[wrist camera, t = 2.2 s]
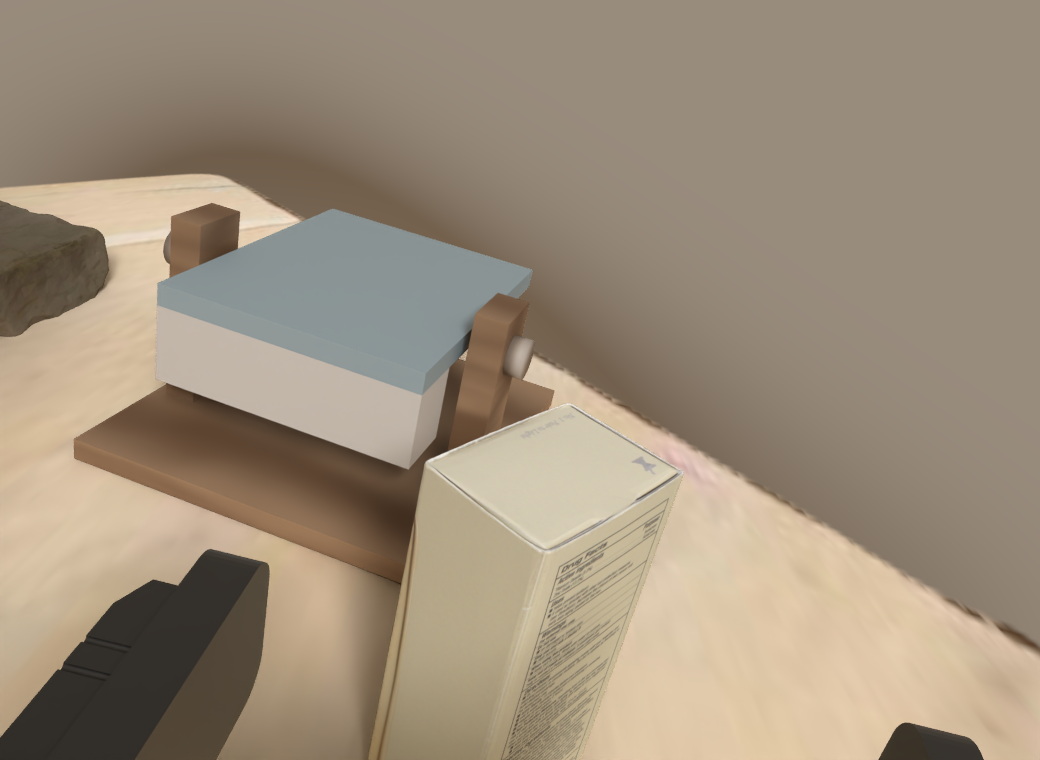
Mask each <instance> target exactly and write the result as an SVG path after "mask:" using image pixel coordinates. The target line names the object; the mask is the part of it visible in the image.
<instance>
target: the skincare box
mask: <svg viewBox="0 0 1040 760" xmlns="http://www.w3.org/2000/svg"><path fill="white" fill-rule="evenodd" d="M683 475H684V472H683V471H682V470H681V469H679V468H677V467H675V466H673V465H672V464H669V463H668V462H667V461H665V460H664V459H662V458H660V457H659V456H657V455H656V454H654V453H652V452H650V451H649V450H647V449H646V448H644V447H642V446H640V445H639V444H637V443H636V442H634V441H632V440H631V439H629V438H628V437H626V436H624V435H623V434H621V433H619V432H618V431H616V430H614V429H613V428H611V427H610V426H608V425H606V424H605V423H603V422H601V421H599V420H598V419H596V418H594V417H593V416H591V415H590V414H588V413H586V412H585V411H583V410H581V409H580V408H578V407H577V406H575V405H573V404H570V403H566V404H563V405H561V406H558V407H555V408H552V409H550V410H547V411H544V412H541V413H539V414H537V415H534V416H532V417H529V418H526V419H524V420H522V421H519V422H516V423H514V424H512V425H509V426H506V427H504V428H502V429H500V430H498V431H495V432H492V433H489V434H488V435H485V436H483V437H480V438H478V439H476V440H473V441H471V442H468V443H466V444H464V445H462V446H459V447H457V448H454V449H452V450H450V451H448V452H445V453H443V454H441V455H438V456H436V457H434V458H431V459H429V460H427V461H426V462H425V464H424V470H423V475H422V480H421V485H420V490H419V495H418V501H417V507H416V512H415V517H414V522H413V527H412V532H411V538H410V543H409V548H408V552H407V558H406V564H405V569H404V574H403V579H402V584H401V590H400V594H399V600H398V605H397V610H396V616H395V621H394V625H393V631H392V636H391V641H390V646H389V650H388V657H387V661H386V667H385V672H384V678H383V683H382V688H381V693H380V698H379V703H378V708H377V713H376V719H375V724H374V729H373V734H372V739H371V744H370V750H369V755H368V760H580V759H581V757H582V754H583V752H584V749H585V746H586V743H587V740H588V738H589V735H590V732H591V729H592V726H593V724H594V721H595V718H596V715H597V713H598V710H599V707H600V704H601V701H602V699H603V696H604V693H605V690H606V688H607V685H608V682H609V680H610V677H611V674H612V672H613V669H614V666H615V663H616V661H617V658H618V655H619V652H620V649H621V646H622V644H623V641H624V638H625V635H626V632H627V630H628V627H629V624H630V621H631V618H632V616H633V613H634V611H635V608H636V605H637V602H638V599H639V597H640V594H641V591H642V588H643V586H644V583H645V580H646V577H647V575H648V572H649V569H650V566H651V563H652V561H653V558H654V555H655V552H656V549H657V546H658V544H659V541H660V538H661V535H662V533H663V530H664V527H665V524H666V522H667V519H668V517H669V514H670V511H671V508H672V506H673V503H674V500H675V497H676V494H677V491H678V489H679V486H680V483H681V480H682V478H683Z"/></svg>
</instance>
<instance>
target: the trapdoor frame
mask: <svg viewBox="0 0 1040 760" xmlns="http://www.w3.org/2000/svg"><path fill="white" fill-rule="evenodd" d="M239 221H240V212H239V211H236V210H233V209H230V208H226V207H223V206H220V205H217V204H214V203H211V204H208V205H205V206H202V207H199V208H196V209H193V210H190V211H186V212H183V213H180V214H177V215H174V216H171V232H170V233H169V235H168V236H167V238H166V240H165V244H164V250H163V253H164V258H165V260H166V262H167V263H169V264H170V278H171V277H173V276H175V275H178V274H180V273H182V272H185V271H187V270H189V269H192V268H194V267H196V266H199V265H201V264H204V263H206V262H208V261H211V260H213V259H215V258H218V257H220V256H222V255H225V254H227V253H229V252H232V251H234V250H237V249H238V236H239ZM528 307H529V302H526V301H523V300H520V299H517V298H513V297H510V296H507V295H504V294H501V293H497V294H496V295H495V296H494V297H493V298H492V299H490V300H489V301H488V302H487V303H486V304H485V305H484V306H483V307H482V308H481V309H480V310H479V311H478V312H476V313H475V318H474V323H473V327H472V332H471V337H470V342H469V347H468V352H467V357H466V361H463V360H460V359H457V360H456V361H455V362H454V363H453V364H452V365H451V366H450V367H449V372H448V378H447V383H446V388H445V393H444V398H443V403H442V409H441V414H440V419H439V424H438V429H437V434H436V438H435V439H434V440H433V441H432V443H431V444H430V445H429V446H428V447H427V448H426V450H425V451H424V452H423V453H422V454H421V456H420V457H419V458H418V459H417V460H416V461H415V463H414V464H413V465H412V466H411V467H410V468H409V470H408V469H405V468H403V467H400V466H397V465H394V464H392V463H389V462H386V461H383V460H380V459H378V458H375V457H372V456H369V455H366V454H364V453H361V452H358V451H355V450H352V449H350V448H347V447H344V446H341V445H339V444H336V443H333V442H330V441H327V440H325V439H322V438H319V437H316V436H313V435H311V434H308V433H305V432H302V431H299V430H297V429H294V428H291V427H288V426H286V425H283V424H280V423H277V422H274V421H272V420H269V419H266V418H263V417H260V416H258V415H255V414H252V413H249V412H246V411H244V410H241V409H238V408H235V407H233V406H230V405H227V404H224V403H221V402H219V401H216V400H213V399H210V398H207V397H205V396H202V395H199V394H196V393H193V392H191V391H188V390H185V389H182V388H180V387H177V386H174V385H171V384H168V383H166V385H164V386H163V387H161V388H159V389H158V390H156V391H154V392H153V393H151V394H149V395H147V396H146V397H144V398H142V399H141V400H139V401H137V402H136V403H134V404H132V405H130V406H129V407H127V408H125V409H124V410H122V411H120V412H119V413H117V414H115V415H114V416H112V417H110V418H108V419H107V420H105V421H103V422H102V423H100V424H98V425H97V426H95V427H93V428H92V429H90V430H88V431H86V432H85V433H83V434H81V435H80V436H78V437H76V438H75V439H74V458H75V459H78V460H80V461H83V462H86V463H88V464H91V465H93V466H96V467H99V468H101V469H104V470H106V471H109V472H112V473H114V474H117V475H119V476H122V477H125V478H127V479H130V480H132V481H135V482H138V483H140V484H143V485H145V486H148V487H151V488H153V489H156V490H158V491H161V492H164V493H166V494H169V495H171V496H174V497H177V498H179V499H182V500H184V501H187V502H190V503H192V504H195V505H197V506H200V507H203V508H205V509H208V510H211V511H213V512H216V513H218V514H221V515H224V516H226V517H229V518H231V519H234V520H237V521H239V522H242V523H244V524H247V525H250V526H252V527H255V528H257V529H260V530H263V531H265V532H268V533H270V534H273V535H276V536H278V537H281V538H283V539H286V540H289V541H291V542H294V543H296V544H299V545H302V546H304V547H307V548H309V549H312V550H315V551H317V552H320V553H322V554H325V555H328V556H330V557H333V558H335V559H338V560H341V561H343V562H346V563H349V564H351V565H354V566H356V567H359V568H362V569H364V570H367V571H369V572H372V573H375V574H377V575H380V576H382V577H385V578H388V579H390V580H393V581H395V582H398V583H401V584H402V579H403V574H404V569H405V564H406V558H407V552H408V548H409V543H410V538H411V532H412V527H413V522H414V517H415V512H416V507H417V501H418V495H419V490H420V485H421V480H422V475H423V470H424V464H425V462H426V461H427V460H429V459H431V458H434V457H436V456H438V455H441V454H443V453H445V452H448V451H450V450H452V449H454V448H457V447H459V446H462V445H464V444H466V443H468V442H471V441H473V440H476V439H478V438H480V437H483V436H485V435H488V434H489V433H492V432H495V431H498V430H500V429H502V428H504V427H506V426H509V425H512V424H514V423H516V422H519V421H522V420H524V419H526V418H529V417H532V416H534V415H537V414H539V413H541V412H544V411H547V410H548V409H549V407H550V406H551V402H552V398H553V395H554V390H551V389H548V388H545V387H542V386H539V385H536V384H533V383H530V382H527V381H524V380H522V379H523V378H524V376H525V375H526V372H527V370H528V368H529V365H530V362H531V359H532V356H533V352H534V346H535V342H534V341H533V340H530V339H527V338H524V337H522V333H523V328H524V324H525V320H526V316H527V311H528Z"/></svg>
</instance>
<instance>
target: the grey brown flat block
mask: <svg viewBox="0 0 1040 760" xmlns="http://www.w3.org/2000/svg"><path fill="white" fill-rule="evenodd" d="M108 271H109V267H108V255H107V251H106V246H105V239H104V236H103V235H102V233H100V232H99V231H98V230H97V229H94V228H90V227H85V226H77V225H72V224H70V223H68V222H66V221H64V220H62V219H60V218H57V217H55V216H53V215H49V214H37V213H32V212H29V211H28V210H26V209H23V208H19V207H16V206H13V205H10V204H9V203H6V202H3V201H0V336H5V337H12V336H18V335H20V334H22V333H23V332H24V331H25V330H26V329H27V328H28V327H30V326H31V325H32V324H35V323H37V322H39V321H42V320H45V319H51V318H54V317H58V316H60V315H61V314H63V313H64V312H67V311H69V310H71V309H73V308H75V307H77V306H79V305H81V304H83V303H85V302H87V301H88V300H90V299H92V298H94V297H95V296H96V294H97V291H98V289H99V288H100V287H102V286H103V285H104V281H105V278H106V275H107V273H108Z"/></svg>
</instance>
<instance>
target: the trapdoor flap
mask: <svg viewBox="0 0 1040 760" xmlns="http://www.w3.org/2000/svg"><path fill="white" fill-rule="evenodd" d="M531 275H532V270H531V269H528V268H525V267H522V266H518V265H515V264H512V263H509V262H505V261H502V260H499V259H495V258H492V257H489V256H486V255H482V254H479V253H476V252H473V251H469V250H466V249H463V248H459V247H456V246H453V245H450V244H447V243H443V242H440V241H437V240H434V239H430V238H427V237H423V236H420V235H417V234H414V233H411V232H407V231H404V230H401V229H397V228H394V227H391V226H388V225H385V224H381V223H378V222H375V221H371V220H368V219H365V218H362V217H358V216H355V215H351V214H349V213H345V212H342V211H339V210H335V209H331V210H328V211H326V212H324V213H321V214H319V215H317V216H314V217H312V218H310V219H307V220H305V221H302V222H300V223H298V224H295V225H293V226H291V227H288V228H286V229H284V230H281V231H279V232H277V233H274V234H272V235H269V236H267V237H265V238H262V239H260V240H258V241H255V242H253V243H251V244H248V245H246V246H244V247H241V248H239V249H237V250H234V251H232V252H229V253H227V254H225V255H222V256H220V257H218V258H215V259H213V260H211V261H208V262H206V263H204V264H201V265H199V266H196V267H194V268H192V269H189V270H187V271H185V272H182V273H180V274H178V275H175V276H173V277H171V278H168V279H166V280H164V281H161V282H159V283H158V290H157V333H156V376H155V379H157V380H160V381H163V382H166V383H168V384H171V385H174V386H177V387H180V388H182V389H185V390H188V391H191V392H193V393H196V394H199V395H202V396H205V397H207V398H210V399H213V400H216V401H219V402H221V403H224V404H227V405H230V406H233V407H235V408H238V409H241V410H244V411H246V412H249V413H252V414H255V415H258V416H260V417H263V418H266V419H269V420H272V421H274V422H277V423H280V424H283V425H286V426H288V427H291V428H294V429H297V430H299V431H302V432H305V433H308V434H311V435H313V436H316V437H319V438H322V439H325V440H327V441H330V442H333V443H336V444H339V445H341V446H344V447H347V448H350V449H352V450H355V451H358V452H361V453H364V454H366V455H369V456H372V457H375V458H378V459H380V460H383V461H386V462H389V463H392V464H394V465H397V466H400V467H403V468H405V469H408V470H409V468H410V467H411V466H412V465H413V464H414V463H415V461H416V460H417V459H418V458H419V457H420V456H421V454H422V453H423V452H424V451H425V450H426V448H427V447H428V446H429V445H430V444H431V443H432V441H433V440H434V439H435V438H436V434H437V429H438V424H439V419H440V414H441V409H442V403H443V398H444V393H445V388H446V383H447V378H448V372H449V367H450V366H451V365H452V364H453V363H454V362H455V361H456V360H457V359H458V358H459V357H460V356H461V355H462V354H463V353H464V352H465V351H466V350H467V349H468V347H469V342H470V337H471V332H472V327H473V323H474V318H475V313H476V312H478V311H479V310H480V309H481V308H482V307H483V306H484V305H485V304H486V303H487V302H488V301H489V300H490V299H492V298H493V297H494V296H495V295H496V294H497V293H501V294H504V295H507V296H510V297H513V298H518V297H519V296H520V295H521V294H522V293H523V292H524V291H525V290H526V289H527V288H528V287H529V284H530V279H531Z"/></svg>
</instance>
